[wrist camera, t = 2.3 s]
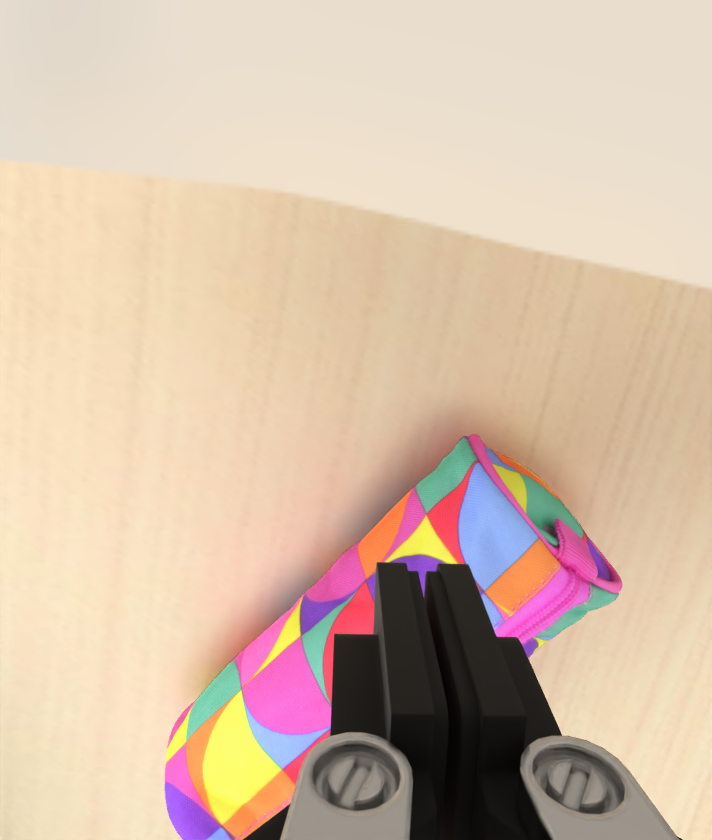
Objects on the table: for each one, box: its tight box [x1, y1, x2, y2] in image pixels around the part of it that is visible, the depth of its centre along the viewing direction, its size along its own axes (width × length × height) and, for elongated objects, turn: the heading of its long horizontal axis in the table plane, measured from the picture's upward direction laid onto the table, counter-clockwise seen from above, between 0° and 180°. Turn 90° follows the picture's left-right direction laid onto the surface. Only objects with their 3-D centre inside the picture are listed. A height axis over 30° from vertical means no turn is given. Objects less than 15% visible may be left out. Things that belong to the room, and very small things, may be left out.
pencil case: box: [165, 434, 622, 840], centre depth 28 cm, size 22×9×9 cm, turn 139°
